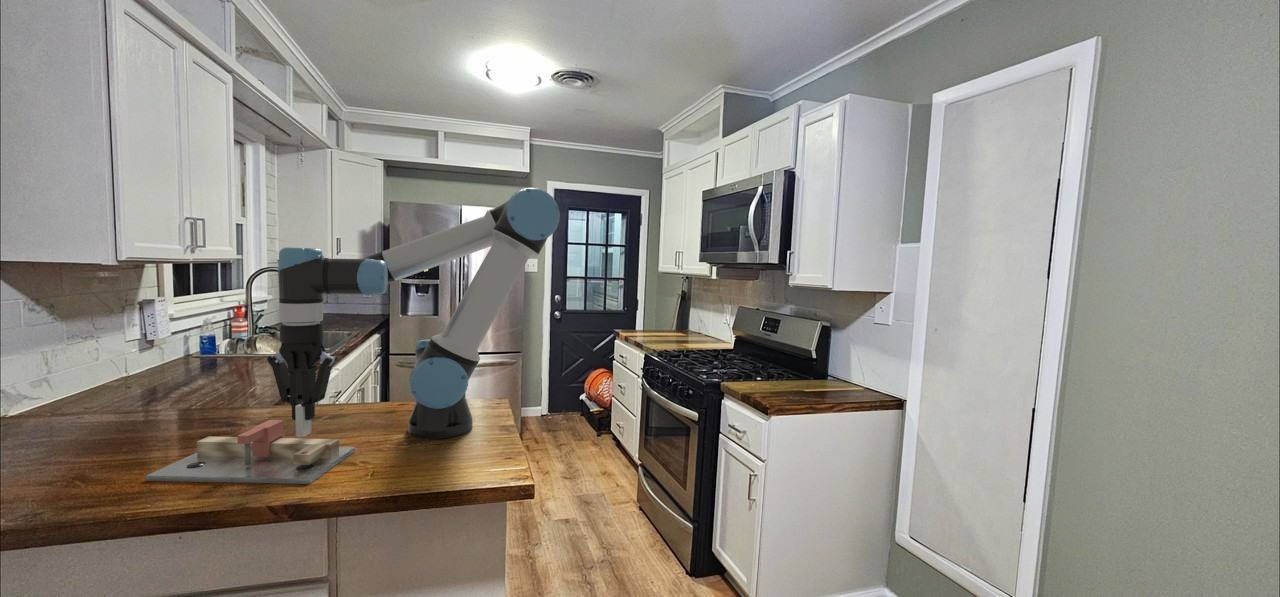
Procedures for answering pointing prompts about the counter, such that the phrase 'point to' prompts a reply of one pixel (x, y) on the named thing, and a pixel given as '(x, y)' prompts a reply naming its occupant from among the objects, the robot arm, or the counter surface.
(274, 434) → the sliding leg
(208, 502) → the counter surface
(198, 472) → the steel plate
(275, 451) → the beam with fixed leg
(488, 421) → the counter surface
